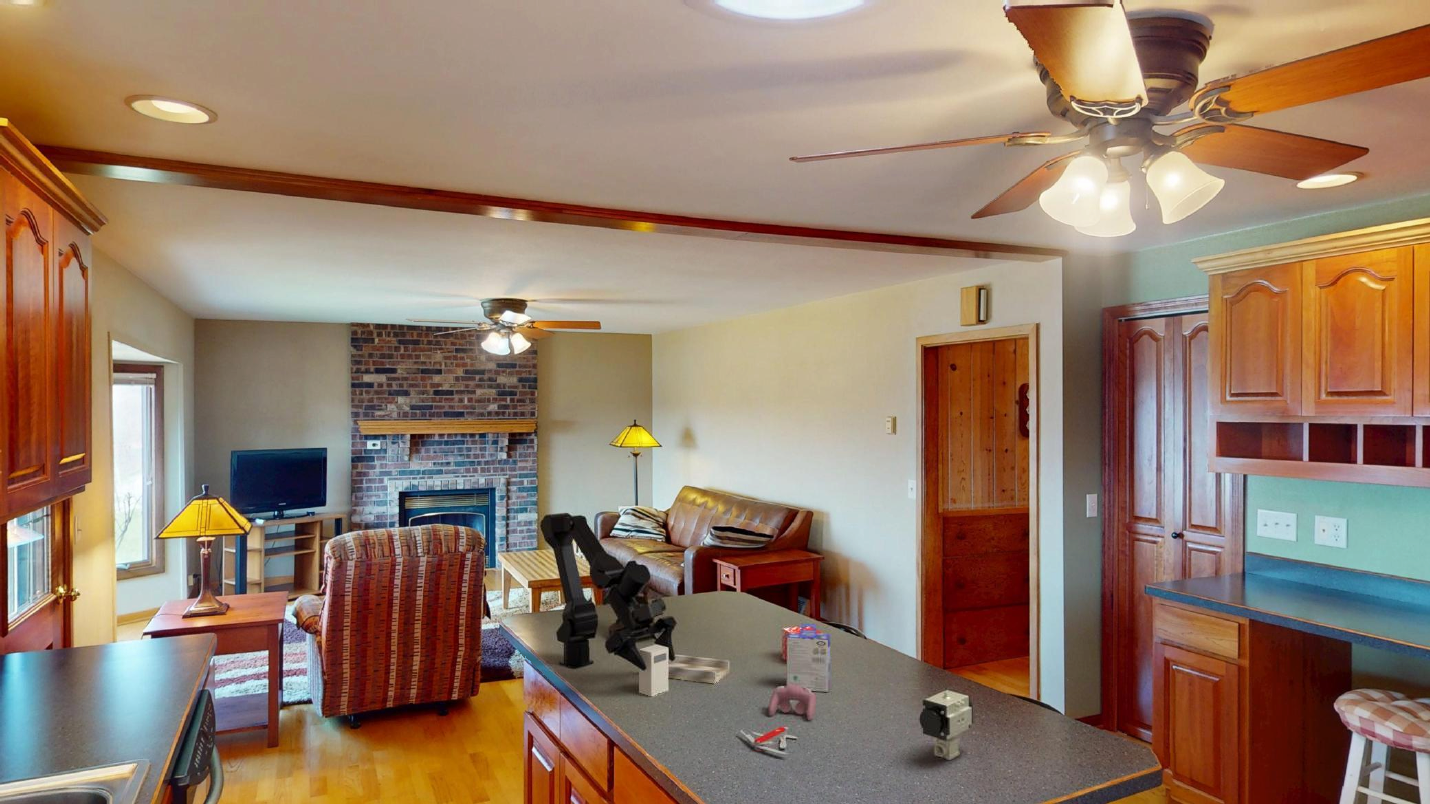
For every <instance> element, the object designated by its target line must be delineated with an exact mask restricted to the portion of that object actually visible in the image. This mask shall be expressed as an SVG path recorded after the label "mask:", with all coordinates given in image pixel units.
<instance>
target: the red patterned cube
mask: <svg viewBox="0 0 1430 804" xmlns="http://www.w3.org/2000/svg"><path fill="white" fill-rule="evenodd" d="M781 629H782V633H781V634H782V635H781V636H782V639H781V640H782V641H781V644H782V654H781V656H782V657H781V659H782V660H784V661H786V662H787V637H788V635H789V633H801V626H791V627H783V628H781ZM803 629H804V630H814V628H812V627H804V628H803ZM817 634H824V633H823V632H821V631H820V630H818V629H817Z"/></svg>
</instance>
